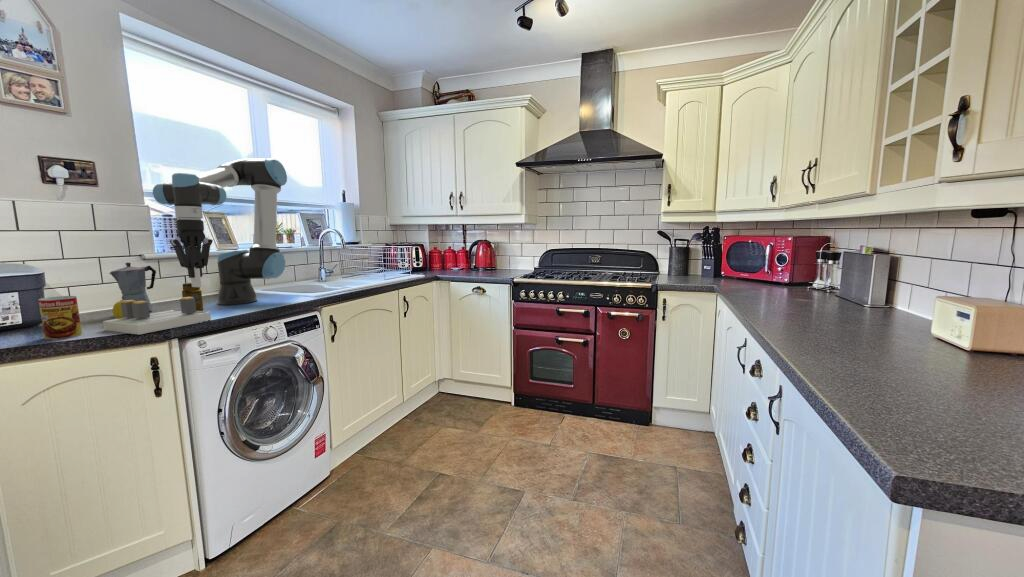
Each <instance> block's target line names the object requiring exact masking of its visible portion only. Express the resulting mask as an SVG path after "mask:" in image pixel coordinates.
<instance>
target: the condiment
mask: <svg viewBox="0 0 1024 577" xmlns="http://www.w3.org/2000/svg"><path fill="white" fill-rule="evenodd" d="M200 288H201V287H192V283H191V282H186V283H182V291H181V295H182V297H181V298H183V297H193V298H195V303H196V311H204V303H203V295H202V289H200Z"/></svg>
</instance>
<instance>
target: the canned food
mask: <svg viewBox="0 0 1024 577" xmlns="http://www.w3.org/2000/svg"><path fill="white" fill-rule="evenodd" d="M37 301H38V308H39V313H40V318H41V324H42V325H41V326H42V329H43V330H42V331H43V335H44V336H43V337H44V340H47V339H53V340H58V339H57V338H64V339H69V338H68V337H70V338H75V337H79V336H81V334H83V331H82V324H81V317H80V311H79V306H78V298H77V296H76V295H62V296H61V295H60V296H48V297H41V298H39V299H38V300H37ZM78 335H79V336H78ZM74 336H75V337H74Z"/></svg>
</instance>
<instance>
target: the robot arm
mask: <svg viewBox="0 0 1024 577" xmlns="http://www.w3.org/2000/svg"><path fill="white" fill-rule="evenodd" d="M287 182H288V176H287V171H286V169H285V167H284V165H283V164H282V162H280V160H278V159H275V158H268V157H266V158H242V159H241V158H240V159H237V160H233V161H229V162H226V163H224V164H221V165H218V166H217V167H216V168H215V169H213V170H210V171H207V172H204V173H200V174H196V173H195V174H194V173H187V172H176V173H173V174H171V182H169V183H165V182H164V183H158V184H155V185H154V187H153V188H152V195H153V198H154V200H155V201H156V202H157V203H158V204H160V205H170V206H172V205H174V215H175V218H176V221H175V223H176V225H175V226H176V230H177V234H176V237H175V238H173V239H169V243H170V244H171V246H172V247H173V249H174V252H175V255H176V256H177V257H176V258H177V259H178V262H179V264H180V267H181V268H185V269H187V274H188V275H187V276H188V278H189V279H190V280H191V281H190V283H192V287H200V288H201V287H202V281H201V280H202V279H201V278H202V277H203V268H204V267H207V266H208V262H209V257H210V250H211V245H212V243H213V239H211V238H208V237H206V234H205V232H204V231H205V226H204V225H205V224H204V221H203V220H202V219H203V217H204V214H203V206H202V205H211V206H219V205H222V204H224V203H225V202H226V200H227V197H228V196H227V191H226V190H225V188H226V187H229V188H233V187H237V186H250V189H252V190H253V191H254V211H253V212H254V217H253V218H254V219H253V222H254V223H253V245H251V246H250V247H249V250H248V249H240V250H238V249H237V250H229V251H223V252H220V253H218V255H217V268H218V278H219V290H218V294H217V298H216V302H217V303H216V304H217V305H222V306H223V305H226V306H228V305H241V304H248V303H254V302H257V301H258V298H257V297H258V296H257V293H256V292H255V289H254V288H253V286H252V282H251V281H252V280H257V279H259V280H261V279H262V280H269V279H270V280H271V279H277V278H280V277H281V275H283V273H284V272H285V268H286V259H285V256H284V254H283V253H282V252H280V251H281V250H280V249H279V247H277V217H278V216H277V213H278V212H277V208H278V204H277V203H278V194H279V193H280V192H281V191H282V186H285V185H286V184H287Z"/></svg>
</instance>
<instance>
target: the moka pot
mask: <svg viewBox="0 0 1024 577" xmlns="http://www.w3.org/2000/svg"><path fill="white" fill-rule="evenodd" d="M131 263H132V262H125V263H124V264H125V266H126V267H123V268H122V267H121V268H118V269H115V270H111V271H110V272H108V273H109V275H111V276H112V277H113V279H114V280H115V281H116V282H117V285H118V288H119V290H120V292H121V300H124V301H125V300H135V301H146V302H148V305H149V312H151V311H153V310H154V309H153V307H152V306H153V305H152V304H151V301H150V298H149V295H148V293H147V290H151V289H154V285H155V278H156V273H157V270H156V269H155V268H153V267H152V266H150V265H146V266H141V267H137V266H131V265H132V264H131ZM148 271H151V277H150V278H151V279H150V284H149V286H147V284H146V281H147V280H146V272H148Z"/></svg>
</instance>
